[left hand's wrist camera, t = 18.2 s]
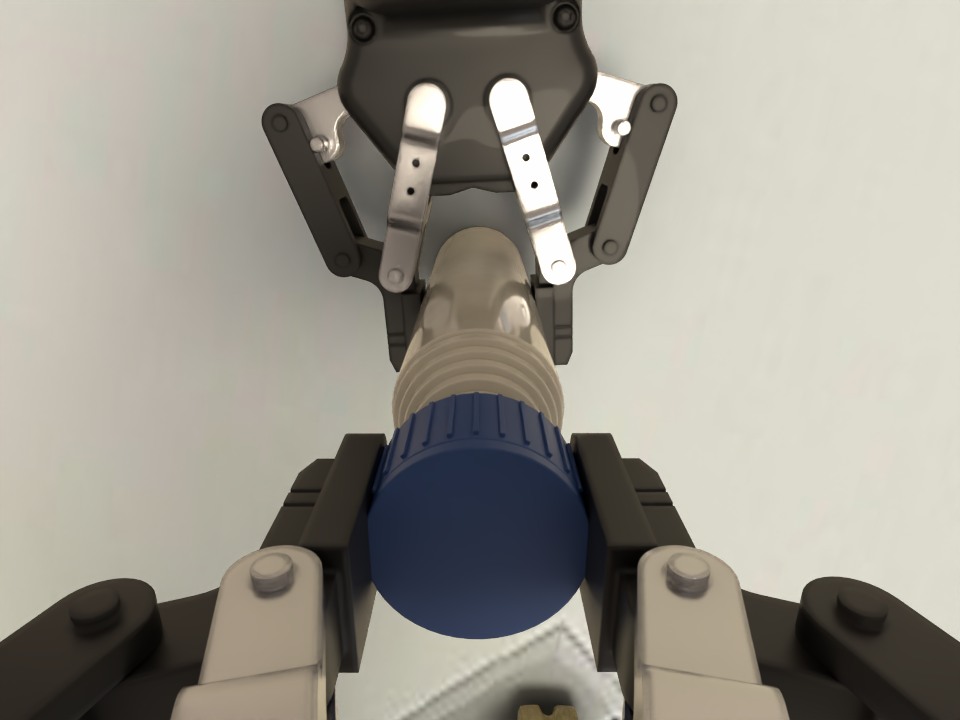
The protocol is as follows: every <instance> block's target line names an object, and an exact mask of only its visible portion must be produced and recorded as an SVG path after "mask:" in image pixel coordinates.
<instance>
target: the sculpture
mask: <svg viewBox="0 0 960 720" xmlns="http://www.w3.org/2000/svg"><path fill="white" fill-rule="evenodd" d="M518 720H578V717H577V714H576V711H575V708H574V707H573V706H564V705H557V706H555V707H554V709H553V712H552V714H551V715H550V716H547V715H545V714H543V713H542V711H541V709H540V707H539V705H522V706H520V707H519V711H518Z"/></svg>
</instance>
